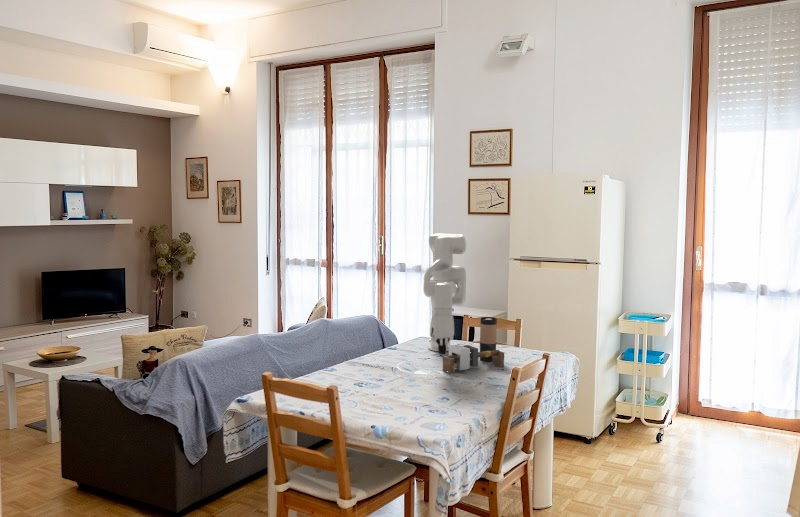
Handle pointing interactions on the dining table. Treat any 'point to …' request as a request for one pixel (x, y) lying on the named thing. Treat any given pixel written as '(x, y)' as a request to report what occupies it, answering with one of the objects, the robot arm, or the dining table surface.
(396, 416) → the dining table surface
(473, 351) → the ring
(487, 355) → the dowel rail
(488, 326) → the travel mug
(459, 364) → the sleeve
